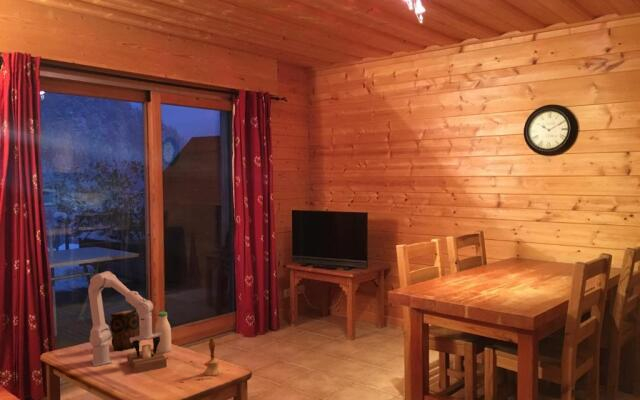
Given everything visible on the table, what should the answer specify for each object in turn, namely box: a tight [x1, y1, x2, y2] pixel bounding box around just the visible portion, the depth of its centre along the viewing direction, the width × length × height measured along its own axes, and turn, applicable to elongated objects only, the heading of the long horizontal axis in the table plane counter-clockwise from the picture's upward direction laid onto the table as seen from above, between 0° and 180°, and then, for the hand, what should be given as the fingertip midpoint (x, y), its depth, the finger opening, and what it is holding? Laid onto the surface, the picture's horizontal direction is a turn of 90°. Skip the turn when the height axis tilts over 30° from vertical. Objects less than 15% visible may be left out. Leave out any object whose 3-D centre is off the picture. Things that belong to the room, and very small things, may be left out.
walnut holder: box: [127, 348, 168, 374], centre depth 250 cm, size 18×14×4 cm
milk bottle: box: [154, 311, 172, 354], centre depth 269 cm, size 8×8×20 cm
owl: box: [110, 308, 141, 352], centre depth 275 cm, size 13×13×20 cm
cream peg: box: [141, 344, 152, 359], centre depth 250 cm, size 4×4×9 cm
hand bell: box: [203, 337, 223, 377], centre depth 238 cm, size 8×8×16 cm
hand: (146, 354), depth 250 cm, fingers open, 7 cm apart
